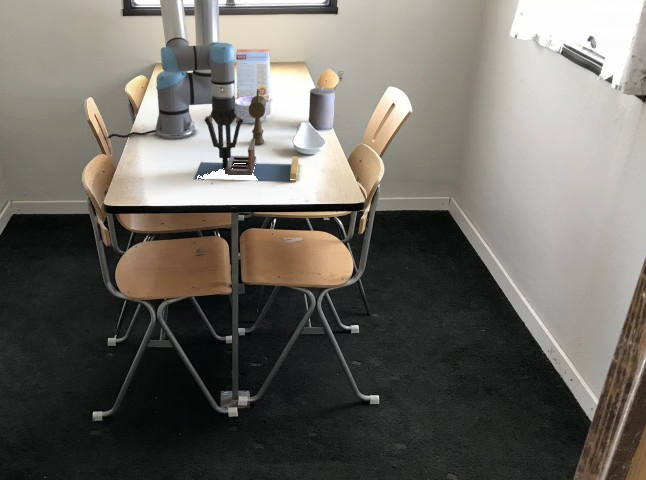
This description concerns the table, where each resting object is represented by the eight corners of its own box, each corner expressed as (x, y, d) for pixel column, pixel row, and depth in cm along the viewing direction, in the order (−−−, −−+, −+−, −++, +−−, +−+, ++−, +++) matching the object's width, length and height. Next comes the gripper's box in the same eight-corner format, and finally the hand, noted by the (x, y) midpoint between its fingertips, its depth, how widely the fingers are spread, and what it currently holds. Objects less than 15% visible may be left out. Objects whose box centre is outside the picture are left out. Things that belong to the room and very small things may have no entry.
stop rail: (290, 181, 231) (290, 173, 230) (292, 164, 245) (292, 156, 243) (296, 182, 231) (296, 173, 230) (298, 164, 244) (298, 156, 243)
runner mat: (193, 180, 235) (193, 179, 235) (200, 163, 248) (200, 162, 248) (296, 183, 231) (296, 182, 231) (298, 165, 245) (298, 164, 244)
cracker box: (269, 98, 312) (270, 48, 301) (268, 102, 307) (269, 51, 296) (238, 98, 314) (237, 48, 302) (236, 102, 309) (235, 51, 297)
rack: (224, 179, 234) (223, 150, 229) (230, 164, 246) (229, 136, 240) (251, 180, 233) (251, 151, 228) (256, 164, 245) (256, 137, 239)
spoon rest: (328, 157, 250) (329, 137, 246) (295, 159, 250) (295, 138, 246) (316, 135, 270) (317, 117, 266) (286, 137, 269) (286, 118, 265)
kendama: (248, 147, 260) (248, 92, 249) (250, 139, 268) (250, 84, 257) (265, 148, 260) (265, 92, 248) (266, 139, 268) (266, 85, 256)
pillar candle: (303, 126, 280) (304, 87, 271) (319, 120, 285) (321, 82, 277) (322, 131, 274) (324, 92, 265) (338, 126, 280) (340, 87, 271)
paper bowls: (248, 112, 296) (248, 93, 292) (278, 119, 288) (278, 99, 284) (225, 121, 287) (224, 101, 282) (254, 128, 278) (254, 108, 274)
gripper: (201, 98, 224) (204, 170, 237) (242, 99, 222) (243, 171, 235) (205, 92, 230) (208, 162, 243) (245, 93, 228) (245, 163, 242)
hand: (225, 167), depth 239 cm, fingers closed
